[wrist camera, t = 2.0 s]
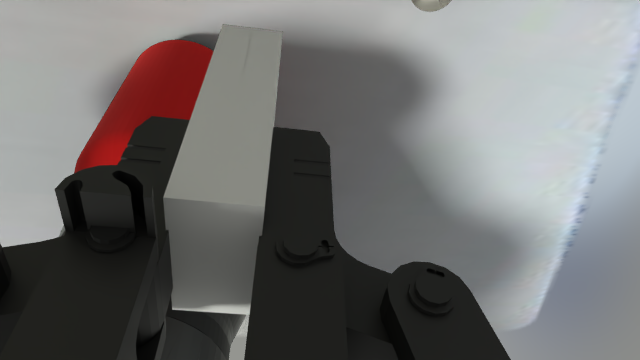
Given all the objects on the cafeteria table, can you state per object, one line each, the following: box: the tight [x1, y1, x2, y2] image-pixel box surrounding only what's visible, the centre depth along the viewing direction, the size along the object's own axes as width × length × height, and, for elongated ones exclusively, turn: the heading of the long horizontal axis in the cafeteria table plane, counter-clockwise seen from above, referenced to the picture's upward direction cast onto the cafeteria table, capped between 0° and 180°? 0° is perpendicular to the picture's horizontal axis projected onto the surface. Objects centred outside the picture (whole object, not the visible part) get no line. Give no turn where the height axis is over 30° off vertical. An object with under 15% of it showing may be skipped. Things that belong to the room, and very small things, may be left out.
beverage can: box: [74, 40, 214, 173], centre depth 26 cm, size 6×6×12 cm
